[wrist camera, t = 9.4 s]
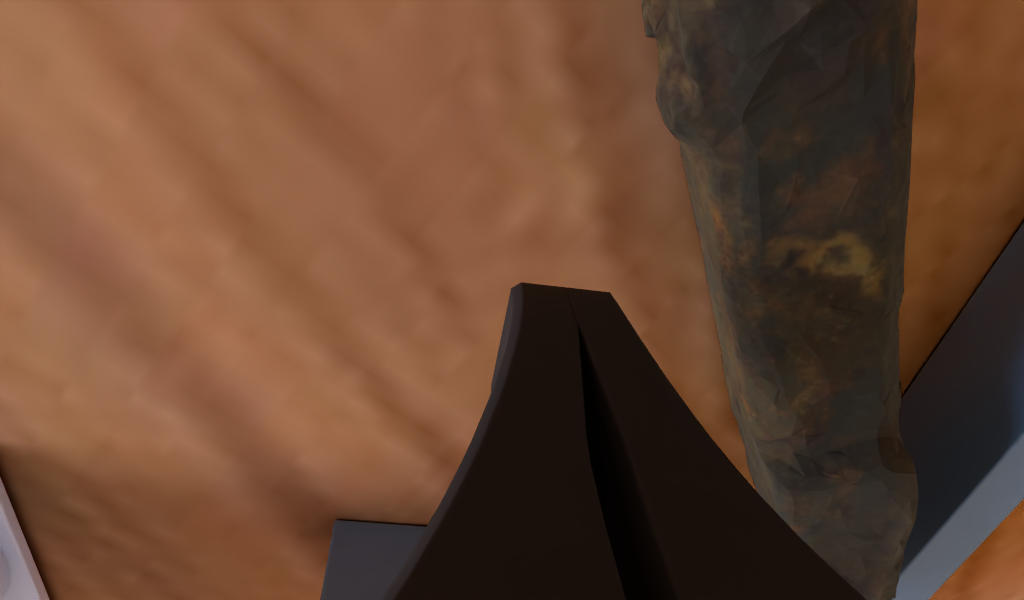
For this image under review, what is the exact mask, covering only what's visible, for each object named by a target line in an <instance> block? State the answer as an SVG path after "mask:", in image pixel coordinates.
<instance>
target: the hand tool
mask: <svg viewBox="0 0 1024 600" xmlns="http://www.w3.org/2000/svg"><path fill="white" fill-rule="evenodd" d="M642 12H643V19H644V26H645V33H646V37H652V38H656V40H657V46H658V61H659V76H658V82H657V88H656V101H657V104H658V106H659V109H660V112H661V115H662V118H663V121H664V123H665V125H666V126H667V128H668V129H669V130H670V132H671V133H672V134H673V135H674V136H675V138H677V139H678V140H679V142H680V149H681V157H682V161H683V165H684V169H685V174H686V178H687V183H688V188H689V193H690V198H691V203H692V207H693V212H694V216H695V221H696V225H697V230H698V234H699V239H700V244H701V248H702V253H703V257H704V264H705V273H706V280H707V284H708V289H709V294H710V299H711V304H712V309H713V314H714V318H715V323H716V328H717V333H718V338H719V343H720V348H721V351H722V354H721V356H722V363H723V370H724V375H725V380H726V385H727V390H728V395H729V400H730V404H731V409H732V412H733V414H734V416H735V418H736V419H737V422H738V426H739V432H740V435H741V438H742V440H743V443H744V445H745V450H746V457H747V464H748V468H749V471H750V473H751V476H752V479H753V481H754V484H755V487H756V490H757V492H758V493H759V495H760V496H761V497H762V498H763V499H764V500H765V501H766V502H767V503H768V504H769V505H770V506H771V507H772V508H773V509H774V511H775V512H776V513H777V514H778V515H779V516H780V517H781V518H782V519H783V520H784V521H785V522H786V523H787V524H788V525H789V526H790V527H791V528H792V530H793V531H794V532H795V533H796V534H797V535H798V536H799V537H800V538H801V539H802V540H803V541H804V542H805V543H806V544H808V545H809V546H810V547H811V548H812V549H813V550H814V551H815V552H816V553H817V554H818V555H819V556H820V557H821V558H822V559H823V560H824V561H825V562H826V563H827V564H828V565H829V566H831V567H832V568H833V569H834V570H835V571H836V572H837V573H838V574H839V575H840V576H841V577H843V578H844V579H845V580H846V581H847V582H848V583H849V584H850V585H851V586H852V587H853V588H854V589H856V590H857V591H858V592H859V593H860V594H861V595H862V596H863V597H864V598H865V599H866V600H892V599H893V598H896V588H897V585H898V582H899V574H900V569H901V566H902V562H903V559H904V549H905V546H906V543H907V541H908V538H909V536H910V533H911V531H912V528H913V525H914V522H915V519H916V513H917V507H918V486H917V477H916V471H915V467H914V463H913V461H912V459H911V457H910V456H909V454H908V452H907V451H906V449H905V447H904V445H903V442H902V439H901V436H900V433H899V409H900V405H901V391H900V387H901V382H900V369H899V328H898V317H899V308H900V305H901V301H902V297H903V293H904V283H903V280H904V254H905V237H906V225H907V212H908V199H909V185H910V168H911V143H912V118H913V102H914V88H915V63H914V49H915V35H916V21H917V0H642Z"/></svg>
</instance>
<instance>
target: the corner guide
mask: <svg viewBox="0 0 1024 600" xmlns="http://www.w3.org/2000/svg"><path fill="white" fill-rule="evenodd" d="M899 433H900V436H901V439H902V442H903V445H904V447H905V449H906V451H907V452H908V454H909V456H910V457H911V459H912V461H913V463H914V467H915V471H916V477H917V486H918V507H917V513H916V519H915V522H914V525H913V528H912V531H911V533H910V536H909V538H908V541H907V543H906V546H905V549H904V559H903V562H902V566H901V569H900V574H899V582H898V585H897V588H896V598H893V599H892V600H928V599H929V598H930V597H931V596H932V595H933V594H934V593H935V592H936V591H937V590H938V589H939V588H940V587H941V586H942V585H943V584H944V582H945V581H946V580H947V579H948V578H949V577H950V576H951V575H952V574H953V573H954V572H955V571H956V570H957V569H958V568H959V567H960V566H961V564H962V563H963V562H964V561H965V560H966V559H967V558H968V557H969V556H970V555H971V554H972V553H973V552H974V551H975V550H976V549H977V548H978V546H979V545H980V544H981V543H982V542H983V541H984V540H985V539H986V538H987V537H988V536H989V535H990V534H991V533H992V532H993V531H994V530H995V528H996V527H997V526H998V525H999V524H1000V523H1001V522H1002V521H1003V520H1004V519H1005V518H1006V517H1007V516H1008V515H1009V514H1010V513H1011V512H1012V510H1013V509H1014V508H1015V507H1016V506H1017V505H1018V504H1019V503H1020V502H1021V501H1022V500H1023V499H1024V222H1023V224H1022V225H1021V227H1020V228H1019V230H1018V231H1017V232H1016V234H1015V235H1014V237H1013V238H1012V240H1011V241H1010V243H1009V244H1008V246H1007V247H1006V248H1005V250H1004V251H1003V253H1002V254H1001V256H1000V257H999V259H998V260H997V261H996V263H995V264H994V266H993V267H992V269H991V270H990V272H989V273H988V274H987V276H986V277H985V279H984V280H983V282H982V283H981V285H980V286H979V287H978V289H977V290H976V292H975V293H974V295H973V296H972V298H971V299H970V301H969V302H968V303H967V305H966V306H965V308H964V309H963V311H962V312H961V314H960V315H959V316H958V318H957V319H956V321H955V322H954V324H953V325H952V327H951V328H950V329H949V331H948V332H947V334H946V335H945V337H944V338H943V340H942V341H941V343H940V344H939V345H938V347H937V348H936V350H935V351H934V353H933V354H932V356H931V357H930V358H929V360H928V361H927V363H926V364H925V366H924V367H923V369H922V370H921V371H920V373H919V374H918V376H917V377H916V379H915V380H914V382H913V383H912V384H911V386H910V387H909V389H908V390H907V392H906V393H905V395H904V396H903V398H902V399H901V405H900V409H899ZM425 529H426V527H424V526H410V525H397V524H383V523H370V522H356V521H343V520H336V521H335V522H334V527H333V533H332V538H331V544H330V549H329V555H328V560H327V566H326V571H325V577H324V582H323V588H322V593H321V599H320V600H381V599H382V598H383V596H384V595H385V593H386V592H387V590H388V589H389V587H390V586H391V584H392V583H393V581H394V580H395V578H396V577H397V575H398V574H399V572H400V571H401V569H402V568H403V566H404V564H405V563H406V561H407V560H408V558H409V556H410V555H411V553H412V551H413V550H414V548H415V546H416V545H417V543H418V541H419V540H420V538H421V536H422V534H423V533H424V531H425Z"/></svg>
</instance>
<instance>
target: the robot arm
mask: <svg viewBox="0 0 1024 600" xmlns="http://www.w3.org/2000/svg"><path fill="white" fill-rule="evenodd" d="M0 600H50V599H49V597H48V594H47V592H46V589H45V587H44V584H43V582H42V579H41V577H40V575H39V572H38V570H37V567H36V565H35V562H34V560H33V557H32V555H31V552H30V550H29V547H28V545H27V542H26V540H25V537H24V535H23V532H22V530H21V527H20V525H19V522H18V520H17V517H16V515H15V513H14V510H13V508H12V505H11V503H10V500H9V498H8V495H7V493H6V490H5V488H4V485H3V483H2V480H1V478H0ZM381 600H866V599H865V598H864V597H863V596H862V595H861V594H860V593H859V592H858V591H857V590H856V589H854V588H853V587H852V586H851V585H850V584H849V583H848V582H847V581H846V580H845V579H844V578H843V577H841V576H840V575H839V574H838V573H837V572H836V571H835V570H834V569H833V568H832V567H831V566H829V565H828V564H827V563H826V562H825V561H824V560H823V559H822V558H821V557H820V556H819V555H818V554H817V553H816V552H815V551H814V550H813V549H812V548H811V547H810V546H809V545H808V544H806V543H805V542H804V541H803V540H802V539H801V538H800V537H799V536H798V535H797V534H796V533H795V532H794V531H793V530H792V528H791V527H790V526H789V525H788V524H787V523H786V522H785V521H784V520H783V519H782V518H781V517H780V516H779V515H778V514H777V513H776V512H775V511H774V509H773V508H772V507H771V506H770V505H769V504H768V503H767V502H766V501H765V500H764V499H763V498H762V497H761V496H760V495H759V494H758V493H757V491H756V490H755V489H754V488H753V487H752V486H751V485H750V484H749V483H748V481H747V480H746V479H745V478H744V477H743V476H742V475H741V473H740V472H739V471H738V470H737V469H736V468H735V466H734V465H733V464H732V463H731V462H730V460H729V459H728V458H727V457H726V455H725V454H724V453H723V452H722V451H721V449H720V448H719V447H718V446H717V444H716V443H715V442H714V441H713V440H712V438H711V437H710V436H709V435H708V433H707V432H706V431H705V429H704V428H703V427H702V425H701V424H700V423H699V421H698V420H697V419H696V418H695V416H694V415H693V413H692V412H691V411H690V409H689V408H688V407H687V405H686V404H685V402H684V401H683V400H682V398H681V397H680V396H679V394H678V393H677V391H676V390H675V389H674V387H673V386H672V384H671V383H670V382H669V380H668V379H667V377H666V376H665V375H664V373H663V372H662V370H661V369H660V367H659V366H658V364H657V363H656V361H655V360H654V358H653V357H652V355H651V354H650V352H649V351H648V349H647V348H646V346H645V345H644V343H643V342H642V340H641V339H640V337H639V336H638V334H637V333H636V331H635V330H634V328H633V327H632V325H631V323H630V322H629V320H628V319H627V317H626V316H625V314H624V313H623V311H622V310H621V308H620V306H619V305H618V303H617V302H616V300H615V299H614V298H613V296H612V295H611V293H610V292H601V291H592V290H583V289H574V288H566V287H557V286H548V285H539V284H530V283H520V284H518V285H516V286H515V287H513V288H511V292H510V297H509V302H508V307H507V312H506V317H505V321H504V326H503V331H502V336H501V341H500V346H499V351H498V356H497V360H496V365H495V370H494V375H493V380H492V387H491V395H490V398H489V400H488V403H487V405H486V407H485V410H484V412H483V415H482V417H481V419H480V422H479V424H478V427H477V429H476V432H475V434H474V436H473V439H472V441H471V443H470V445H469V447H468V449H467V452H466V454H465V456H464V458H463V460H462V462H461V464H460V466H459V468H458V470H457V472H456V474H455V476H454V478H453V480H452V482H451V484H450V486H449V488H448V490H447V492H446V493H445V495H444V497H443V499H442V501H441V503H440V505H439V506H438V508H437V510H436V512H435V513H434V515H433V517H432V519H431V520H430V522H429V524H428V526H427V527H426V529H425V531H424V533H423V534H422V536H421V538H420V540H419V541H418V543H417V545H416V546H415V548H414V550H413V551H412V553H411V555H410V556H409V558H408V560H407V561H406V563H405V564H404V566H403V568H402V569H401V571H400V572H399V574H398V575H397V577H396V578H395V580H394V581H393V583H392V584H391V586H390V587H389V589H388V590H387V592H386V593H385V595H384V596H383V598H382V599H381Z"/></svg>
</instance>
